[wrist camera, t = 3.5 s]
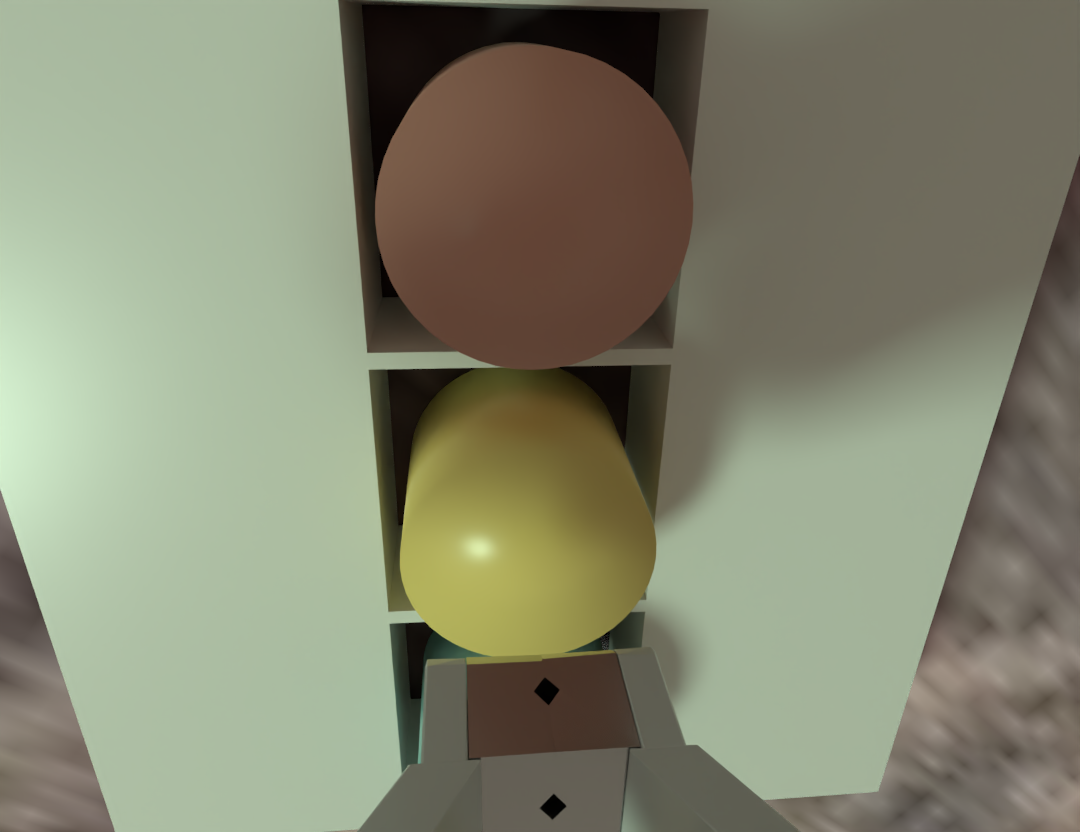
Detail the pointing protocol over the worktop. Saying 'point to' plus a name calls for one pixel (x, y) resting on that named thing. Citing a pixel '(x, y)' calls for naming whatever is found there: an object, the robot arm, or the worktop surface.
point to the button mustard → (522, 515)
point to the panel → (404, 343)
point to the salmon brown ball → (533, 206)
